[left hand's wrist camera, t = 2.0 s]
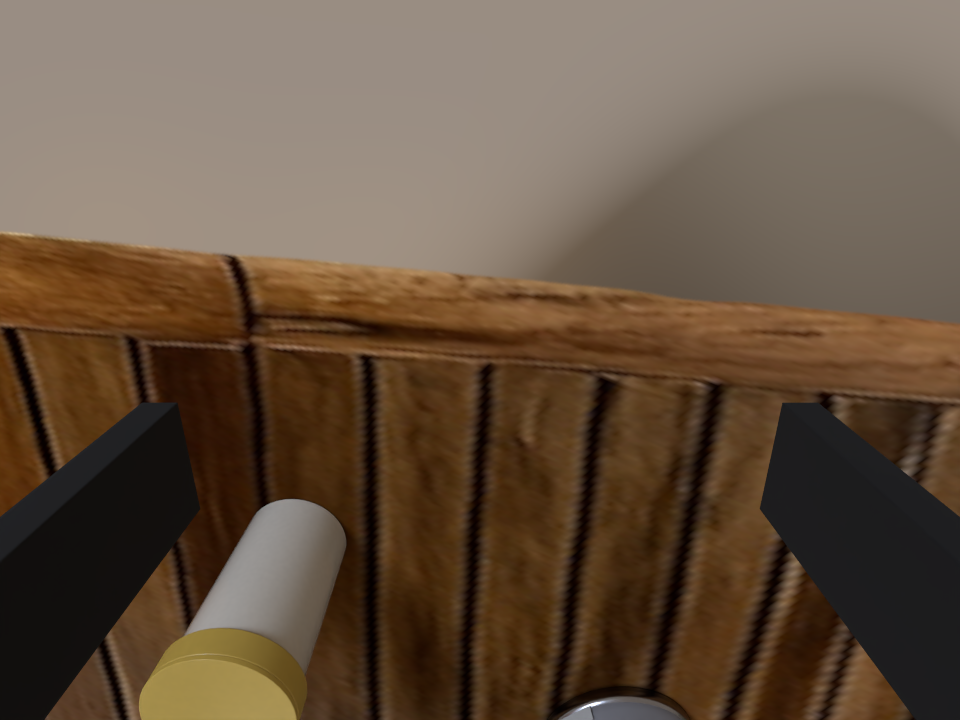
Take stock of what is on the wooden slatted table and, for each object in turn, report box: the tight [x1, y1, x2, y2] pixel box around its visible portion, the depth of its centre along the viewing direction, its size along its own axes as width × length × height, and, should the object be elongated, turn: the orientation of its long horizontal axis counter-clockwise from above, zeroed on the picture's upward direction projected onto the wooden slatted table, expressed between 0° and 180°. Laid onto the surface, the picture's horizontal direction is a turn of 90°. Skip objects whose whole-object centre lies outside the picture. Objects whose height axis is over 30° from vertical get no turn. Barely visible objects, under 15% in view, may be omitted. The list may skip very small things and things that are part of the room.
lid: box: [139, 628, 307, 720], centre depth 35 cm, size 9×9×2 cm
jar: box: [184, 499, 346, 676], centre depth 41 cm, size 8×8×15 cm
